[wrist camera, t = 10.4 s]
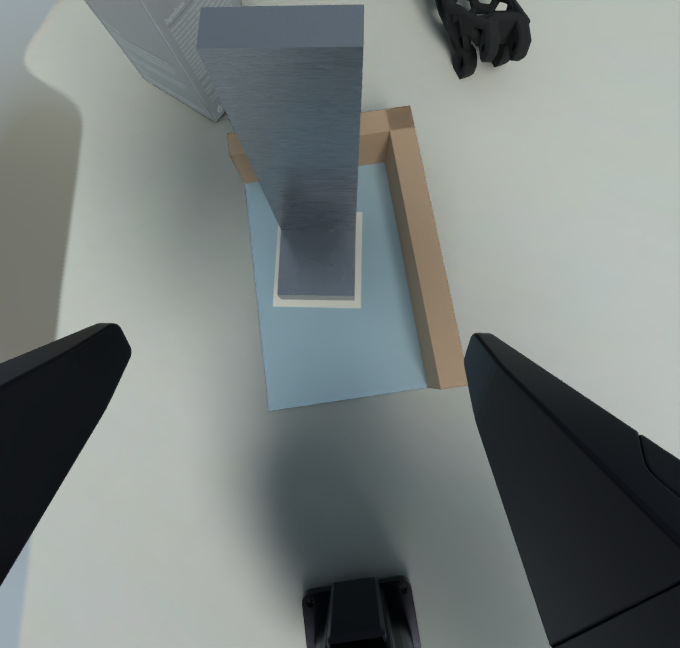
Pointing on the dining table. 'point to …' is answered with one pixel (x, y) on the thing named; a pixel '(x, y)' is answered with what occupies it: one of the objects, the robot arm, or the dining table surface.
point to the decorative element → (485, 33)
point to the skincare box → (165, 45)
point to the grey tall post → (296, 128)
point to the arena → (362, 285)
